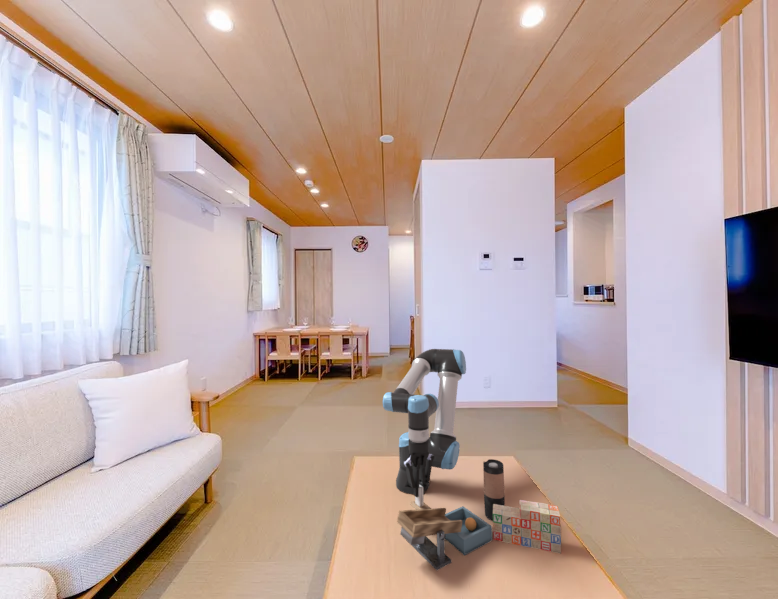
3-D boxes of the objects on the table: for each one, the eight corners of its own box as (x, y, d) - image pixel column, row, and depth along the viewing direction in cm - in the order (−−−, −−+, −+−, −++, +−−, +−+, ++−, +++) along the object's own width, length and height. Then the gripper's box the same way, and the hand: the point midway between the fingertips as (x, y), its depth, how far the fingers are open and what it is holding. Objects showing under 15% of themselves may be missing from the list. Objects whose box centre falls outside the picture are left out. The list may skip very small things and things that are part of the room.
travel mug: (506, 523, 127) (504, 468, 127) (485, 521, 128) (483, 467, 129) (503, 511, 134) (502, 459, 135) (483, 509, 136) (482, 458, 136)
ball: (461, 519, 122) (469, 513, 124) (464, 529, 123) (471, 522, 125) (469, 525, 119) (477, 518, 121) (472, 535, 119) (479, 528, 121)
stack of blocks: (492, 540, 118) (491, 504, 118) (493, 529, 124) (492, 494, 124) (561, 554, 111) (560, 515, 111) (559, 541, 117) (557, 505, 117)
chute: (411, 548, 103) (415, 525, 104) (379, 515, 120) (382, 495, 121) (459, 541, 113) (462, 521, 114) (423, 512, 130) (426, 494, 131)
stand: (436, 570, 105) (435, 537, 105) (410, 544, 117) (409, 514, 117) (451, 562, 108) (450, 530, 108) (424, 537, 120) (423, 508, 120)
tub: (464, 555, 111) (463, 540, 111) (436, 531, 123) (436, 517, 123) (492, 540, 118) (491, 525, 118) (463, 519, 129) (463, 506, 130)
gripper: (409, 446, 119) (410, 515, 118) (439, 438, 126) (440, 503, 125) (397, 439, 126) (398, 504, 125) (426, 432, 132) (427, 494, 132)
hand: (419, 504), depth 125 cm, fingers closed
